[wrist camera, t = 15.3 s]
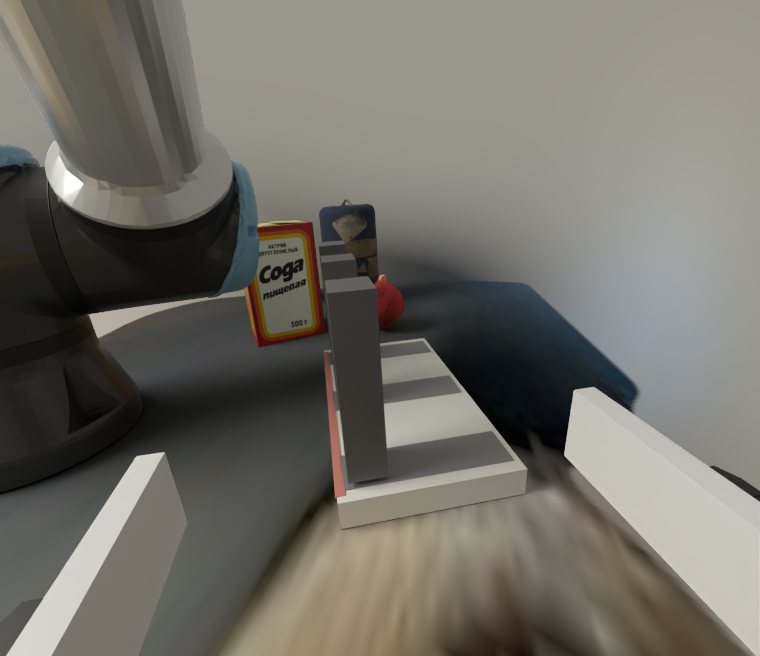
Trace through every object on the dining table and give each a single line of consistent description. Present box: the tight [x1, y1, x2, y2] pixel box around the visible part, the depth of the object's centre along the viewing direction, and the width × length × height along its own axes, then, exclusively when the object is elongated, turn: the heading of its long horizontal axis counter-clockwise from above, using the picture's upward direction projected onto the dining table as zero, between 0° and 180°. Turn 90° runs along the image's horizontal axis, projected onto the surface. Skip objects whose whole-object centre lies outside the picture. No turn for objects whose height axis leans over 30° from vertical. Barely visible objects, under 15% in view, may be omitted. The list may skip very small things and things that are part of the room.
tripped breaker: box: [325, 276, 389, 484], centre depth 22 cm, size 3×2×12 cm
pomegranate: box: [374, 275, 404, 330], centre depth 53 cm, size 6×6×8 cm
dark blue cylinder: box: [319, 199, 379, 284], centre depth 65 cm, size 10×10×18 cm
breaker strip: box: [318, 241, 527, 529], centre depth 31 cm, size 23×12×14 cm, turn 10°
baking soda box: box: [244, 220, 325, 347], centre depth 52 cm, size 10×6×16 cm
